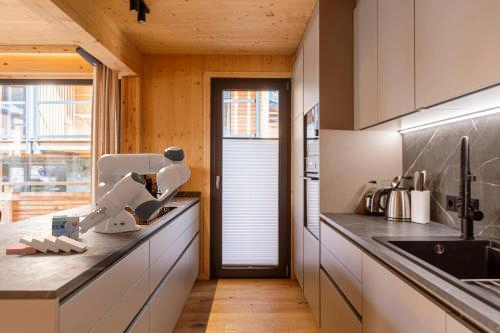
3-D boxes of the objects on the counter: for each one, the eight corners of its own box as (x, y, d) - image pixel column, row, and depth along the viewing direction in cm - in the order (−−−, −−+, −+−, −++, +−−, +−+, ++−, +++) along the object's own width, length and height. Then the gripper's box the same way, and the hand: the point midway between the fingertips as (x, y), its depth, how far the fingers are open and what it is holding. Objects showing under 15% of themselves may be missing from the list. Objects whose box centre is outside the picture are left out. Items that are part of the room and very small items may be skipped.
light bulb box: (51, 242, 141) (51, 217, 141) (52, 239, 147) (52, 215, 147) (79, 240, 146) (79, 216, 146) (79, 237, 152) (79, 214, 152)
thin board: (101, 249, 130) (101, 247, 130) (92, 256, 120) (92, 254, 120) (36, 250, 127) (36, 248, 127) (21, 257, 117) (22, 255, 117)
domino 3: (65, 245, 126) (39, 235, 125) (59, 248, 121) (32, 238, 120) (63, 249, 126) (38, 239, 125) (57, 252, 121) (30, 242, 120)
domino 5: (87, 245, 127) (62, 235, 126) (82, 248, 122) (56, 238, 121) (85, 249, 127) (60, 239, 126) (80, 252, 122) (54, 242, 121)
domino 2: (53, 245, 126) (28, 235, 125) (47, 248, 121) (20, 238, 120) (51, 249, 126) (26, 238, 124) (45, 252, 121) (18, 242, 120)
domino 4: (76, 245, 127) (51, 235, 125) (70, 248, 122) (44, 238, 121) (74, 249, 127) (49, 239, 125) (68, 252, 122) (42, 242, 120)
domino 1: (42, 245, 125) (14, 245, 124) (35, 248, 120) (6, 249, 119) (42, 249, 125) (14, 250, 124) (35, 253, 120) (6, 253, 119)
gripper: (106, 216, 115) (76, 244, 114) (122, 208, 136) (97, 232, 135) (93, 203, 115) (63, 231, 114) (111, 198, 135) (85, 221, 134)
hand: (81, 232), depth 124 cm, fingers closed
